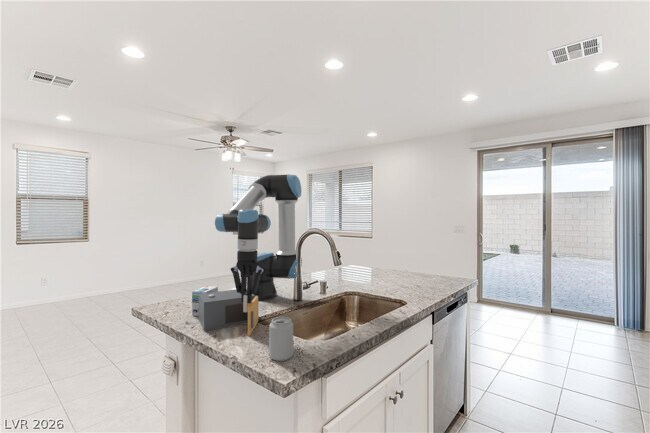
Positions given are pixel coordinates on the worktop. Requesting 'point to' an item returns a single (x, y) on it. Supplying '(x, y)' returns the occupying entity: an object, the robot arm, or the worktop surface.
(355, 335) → the worktop surface
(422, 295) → the worktop surface
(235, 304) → the grey microwave
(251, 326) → the orange cabinet door
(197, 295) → the light bulb box
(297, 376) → the worktop surface
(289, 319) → the can
